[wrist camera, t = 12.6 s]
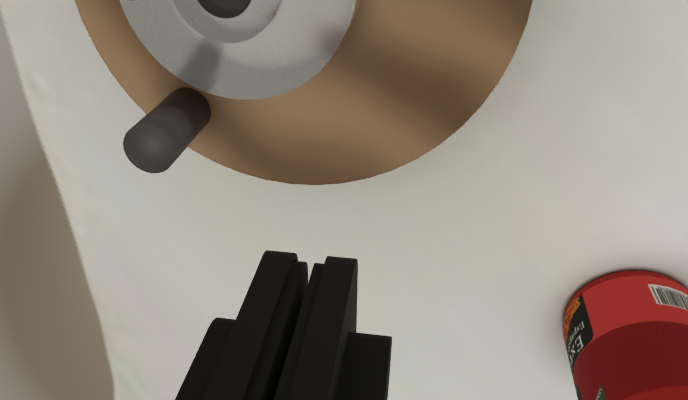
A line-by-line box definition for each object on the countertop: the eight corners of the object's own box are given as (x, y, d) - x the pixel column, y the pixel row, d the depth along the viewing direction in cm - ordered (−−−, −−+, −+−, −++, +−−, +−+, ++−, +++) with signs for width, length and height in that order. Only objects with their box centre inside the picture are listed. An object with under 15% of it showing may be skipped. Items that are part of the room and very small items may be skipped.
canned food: (545, 284, 37) (579, 432, 28) (687, 250, 34) (776, 401, 25) (576, 371, 40) (615, 531, 31) (707, 346, 37) (794, 513, 28)
